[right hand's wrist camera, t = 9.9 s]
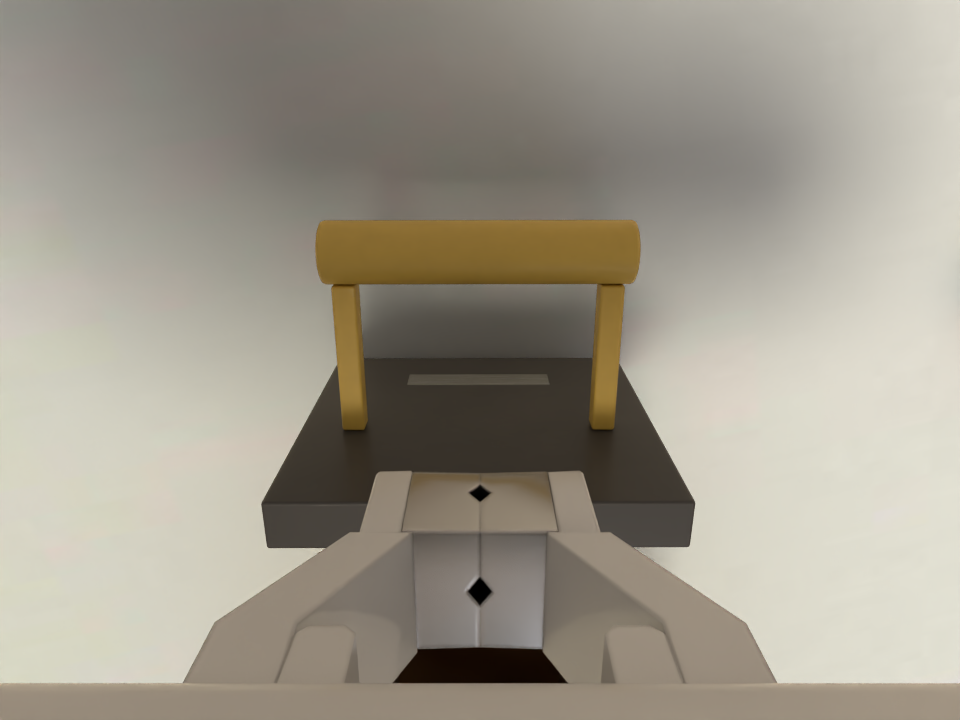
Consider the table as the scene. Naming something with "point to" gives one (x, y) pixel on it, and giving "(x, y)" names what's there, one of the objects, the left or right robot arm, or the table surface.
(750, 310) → the table surface
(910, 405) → the table surface
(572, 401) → the drawer
